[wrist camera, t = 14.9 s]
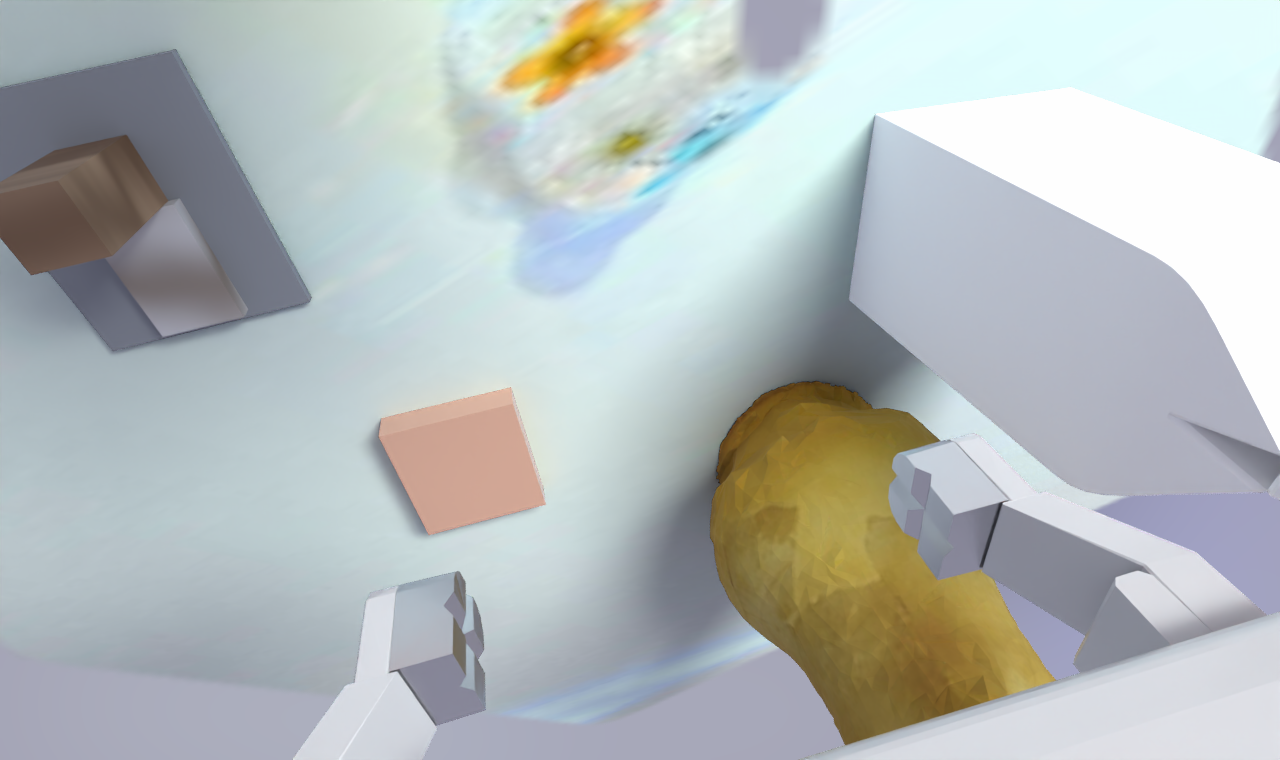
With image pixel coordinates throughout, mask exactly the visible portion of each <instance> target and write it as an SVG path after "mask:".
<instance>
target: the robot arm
mask: <svg viewBox="0 0 1280 760" xmlns="http://www.w3.org/2000/svg"><path fill="white" fill-rule="evenodd" d="M892 469H893V470H894V472H895V473H896V474H897V477H896V478H895V479H894V480H893V481H892V482H891V484H890V485H889V495H888V499H889V503H890V507H891V512H892V514H893V516H894V518H895V520H896V522H897V523H898V525H899V526H900V528H901V529H902V531H903V532H904V533H905V534H907V535H909V536H911V537H913V538H915V539H917V540H918V548H917V552H918V554H919V555H920V556H921V558H922V559H923V561H924V562H925V563H926V565H927V566H928V568H929V569H930V570H931V572H932V573H933V575H934V576H935V577H936V579H937V580H942V579H946V578H949V577H953V576H957V575H961V574H965V573H969V572H973V571H977V570H981V569H982V571H981V572H983V573H984V574H986V575H988V576H989V577H991V578H993V579H994V580H996V581H997V582H999V583H1001V584H1003V585H1004V586H1006V587H1007V588H1009V589H1010V590H1012V591H1014V592H1015V593H1017V594H1018V595H1020V596H1022V597H1023V598H1025V599H1027V600H1028V601H1030V602H1032V603H1033V604H1035V605H1036V606H1038V607H1040V608H1041V609H1043V610H1044V611H1046V612H1048V613H1049V614H1051V615H1053V616H1054V617H1056V618H1058V619H1059V620H1061V621H1062V622H1064V623H1066V624H1067V625H1069V626H1070V627H1072V628H1074V629H1075V630H1077V631H1079V632H1080V633H1082V634H1083V635H1085V638H1084V640H1083V642H1082V644H1081V645H1080V647H1079V649H1078V651H1077V653H1076V655H1075V659H1074V663H1073V664H1074V665H1075V667H1076V668H1077V669H1078V671H1079V672H1080V673H1079V674H1076V675H1073V676H1069V677H1066V678H1063V679H1059V680H1056V681H1053V682H1049V683H1046V684H1043V685H1040V686H1036V687H1033V688H1030V689H1027V690H1023V691H1020V692H1017V693H1014V694H1010V695H1007V696H1004V697H1001V698H997V699H994V700H991V701H988V702H984V703H981V704H978V705H975V706H971V707H968V708H965V709H962V710H958V711H955V712H952V713H949V714H945V715H942V716H939V717H936V718H932V719H929V720H926V721H922V722H919V723H916V724H913V725H909V726H906V727H903V728H900V729H896V730H893V731H890V732H887V733H883V734H880V735H877V736H874V737H870V738H867V739H864V740H861V741H857V742H854V743H851V744H848V745H844V746H841V747H838V748H835V749H831V750H828V751H825V752H822V753H818V754H815V755H812V756H809V757H805V758H802V759H799V760H1280V612H1277V613H1274V614H1271V615H1266V614H1265V613H1264V612H1263V611H1262V610H1261V609H1260V608H1258V607H1257V606H1256V605H1255V604H1254V603H1253V602H1252V601H1251V600H1249V599H1248V598H1247V597H1246V596H1245V595H1243V593H1241V592H1240V591H1239V590H1238V589H1237V588H1236V587H1234V586H1233V585H1232V584H1231V583H1230V582H1229V581H1228V580H1227V579H1226V578H1224V577H1223V576H1222V575H1221V574H1220V573H1219V572H1218V571H1216V570H1215V569H1214V568H1213V567H1212V566H1211V565H1210V564H1209V563H1207V562H1206V561H1205V560H1204V559H1203V558H1202V557H1201V556H1199V555H1198V554H1197V553H1196V552H1194V551H1192V550H1189V549H1187V548H1184V547H1182V546H1179V545H1177V544H1174V543H1172V542H1169V541H1167V540H1165V539H1162V538H1160V537H1157V536H1155V535H1152V534H1149V533H1147V532H1145V531H1142V530H1140V529H1137V528H1135V527H1132V526H1130V525H1127V524H1125V523H1122V522H1120V521H1117V520H1115V519H1112V518H1110V517H1108V516H1105V515H1103V514H1100V513H1098V512H1095V511H1093V510H1090V509H1088V508H1085V507H1083V506H1080V505H1078V504H1075V503H1073V502H1070V501H1068V500H1065V499H1063V498H1060V497H1058V496H1055V495H1053V494H1051V493H1048V492H1046V491H1044V492H1040V493H1037V492H1036V491H1035V490H1034V489H1033V488H1032V487H1031V486H1030V485H1029V484H1028V483H1027V482H1026V481H1025V480H1024V479H1023V478H1022V477H1021V476H1020V475H1019V474H1018V473H1017V472H1016V471H1015V470H1014V469H1013V468H1012V467H1011V466H1010V465H1009V464H1008V463H1007V462H1006V461H1005V460H1004V459H1003V458H1002V457H1001V456H1000V455H999V454H998V453H997V452H996V451H995V450H994V449H993V448H992V447H991V446H990V445H989V444H988V443H987V442H986V441H985V440H984V439H983V438H982V437H981V436H980V435H977V434H975V433H971V434H968V435H964V436H960V437H956V438H953V439H949V440H947V441H946V440H943V441H940V442H936V443H932V444H929V445H925V446H922V447H918V448H915V449H911V450H907V451H904V452H900V453H897V455H896V456H895V457H894V458H893V464H892ZM483 650H484V637H483V629H482V623H481V617H480V614H479V610H478V607H477V605H476V603H475V600H474V598H473V597H471V596H469V595H466V583H465V580H464V579H463V577H462V575H461V573H460V572H459V571H456V572H452V573H448V574H443V575H439V576H435V577H431V578H427V579H422V580H418V581H414V582H410V583H406V584H401V585H398V586H394V587H390V588H386V589H382V590H378V591H374V592H370V594H369V596H368V598H367V600H366V602H365V608H364V615H363V622H362V629H361V636H360V643H359V651H358V658H357V665H356V672H355V679H354V683H351V684H348V685H345V686H344V688H343V689H342V690H341V692H340V693H339V695H338V696H337V697H336V699H335V700H334V702H333V703H332V704H331V706H330V707H329V709H328V710H327V712H326V713H325V714H324V716H323V717H322V719H321V720H320V721H319V723H318V724H317V725H316V727H315V728H314V730H313V731H312V733H311V734H310V735H309V737H308V738H307V739H306V741H305V742H304V744H303V745H302V746H301V748H300V749H299V751H298V752H297V754H296V755H295V756H294V758H293V759H292V760H422V759H423V757H424V755H425V753H426V751H427V749H428V747H429V745H430V743H431V741H432V738H433V736H434V734H435V732H436V730H437V727H436V725H440V724H443V723H446V722H449V721H452V720H456V719H459V718H462V717H465V716H468V715H471V714H475V713H478V712H481V711H484V710H486V703H485V673H484V671H483V669H482V667H481V665H480V663H479V661H478V659H479V657H480V655H481V654H482V652H483Z"/></svg>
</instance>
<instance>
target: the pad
mask: <svg viewBox="0 0 1280 760" xmlns="http://www.w3.org/2000/svg"><path fill="white" fill-rule="evenodd" d="M122 135H127V136H128V138H129V139H130V141H131V142H132V144H133V146H134V147H135V149H136V150H137V152H138V154H139V155H140V157H141V158H142V160H143V161H144V163H145V165H146V166H147V168H148V169H149V171H150V173H151V174H152V176H153V177H154V179H155V180H156V182H157V184H158V185H159V187H160V188H161V190H162V192H163V193H164V195H165V196H166V198H167V199H168V201H170V200H174V199H178V198H180V200H181V201H182V203H183V205H184V206H185V208H186V209H187V211H188V213H189V214H190V216H191V218H192V219H193V221H194V222H195V224H196V226H197V227H198V229H199V230H200V232H201V234H202V235H203V237H204V239H205V240H206V242H207V243H208V245H209V247H210V248H211V250H212V251H213V253H214V255H215V256H216V258H217V260H218V261H219V263H220V264H221V266H222V268H223V269H224V271H225V272H226V274H227V276H228V277H229V279H230V281H231V282H232V284H233V285H234V287H235V289H236V290H237V292H238V293H239V295H240V297H241V298H242V300H243V302H244V303H245V305H246V306H247V308H248V311H247V313H246V315H245V316H244V317H242V318H238V319H234V320H230V321H226V322H222V323H218V324H214V325H210V326H206V327H202V328H198V329H194V330H190V331H185V332H181V333H177V334H173V335H169V336H165V337H163V336H162V335H161V334H160V332H159V331H158V330H157V328H156V327H155V326H154V324H153V323H152V321H151V320H150V319H149V317H148V316H147V315H146V313H145V312H144V311H143V309H142V308H141V307H140V305H139V304H138V302H137V301H136V300H135V298H134V297H133V296H132V294H131V293H130V292H129V290H128V289H127V287H126V286H125V285H124V283H123V282H122V281H121V279H120V278H119V277H118V275H117V274H116V273H115V271H114V270H113V268H112V267H111V266H110V264H109V263H108V262H107V260H106V259H105V258H102V259H98V260H94V261H90V262H85V263H81V264H77V265H73V266H68V267H64V268H60V269H56V270H51V271H48V272H49V273H50V275H51V276H52V277H53V278H54V280H55V281H56V282H57V283H58V284H59V286H60V287H61V288H62V289H63V291H64V292H65V293H66V294H67V296H68V297H69V298H70V299H71V300H72V302H73V303H74V304H75V305H76V307H77V308H78V309H79V310H80V312H81V313H82V314H83V315H84V316H85V318H86V319H87V320H88V321H89V323H90V324H91V325H92V326H93V328H94V329H95V330H96V331H97V332H98V334H99V335H100V336H101V337H102V339H103V340H104V341H105V342H106V344H107V345H108V346H109V347H110V348H111V350H112V351H116V350H120V349H124V348H128V347H132V346H136V345H140V344H144V343H148V342H152V341H156V340H160V339H164V338H168V337H172V336H176V335H180V334H184V333H188V332H192V331H196V330H200V329H204V328H208V327H212V326H216V325H220V324H224V323H228V322H232V321H236V320H240V319H244V318H248V317H252V316H256V315H260V314H264V313H268V312H272V311H276V310H280V309H284V308H288V307H292V306H296V305H300V304H304V303H308V302H310V300H311V298H312V297H311V295H310V294H309V292H308V290H307V288H306V286H305V285H304V283H303V281H302V279H301V277H300V275H299V274H298V272H297V270H296V268H295V266H294V264H293V263H292V261H291V259H290V257H289V255H288V254H287V252H286V250H285V248H284V246H283V244H282V243H281V241H280V239H279V237H278V235H277V233H276V232H275V230H274V228H273V226H272V224H271V223H270V221H269V219H268V217H267V215H266V213H265V212H264V210H263V208H262V206H261V204H260V202H259V201H258V199H257V197H256V195H255V193H254V191H253V190H252V188H251V186H250V184H249V182H248V181H247V179H246V177H245V175H244V173H243V171H242V170H241V168H240V166H239V164H238V162H237V160H236V159H235V157H234V155H233V153H232V151H231V150H230V148H229V146H228V144H227V142H226V140H225V139H224V137H223V135H222V133H221V131H220V129H219V128H218V126H217V124H216V122H215V120H214V119H213V117H212V115H211V113H210V111H209V109H208V108H207V106H206V104H205V102H204V100H203V98H202V97H201V95H200V93H199V91H198V89H197V87H196V86H195V84H194V82H193V80H192V78H191V77H190V75H189V73H188V71H187V69H186V67H185V66H184V64H183V62H182V60H181V58H180V56H179V55H178V53H177V51H176V50H172V51H167V52H162V53H158V54H153V55H149V56H144V57H139V58H135V59H130V60H126V61H121V62H116V63H112V64H107V65H103V66H98V67H94V68H89V69H84V70H80V71H75V72H71V73H66V74H61V75H57V76H52V77H48V78H43V79H39V80H34V81H29V82H25V83H20V84H16V85H11V86H6V87H2V88H0V182H1V181H3V180H5V179H6V178H8V177H10V176H12V175H13V174H15V173H17V172H18V171H20V170H22V169H23V168H25V167H27V166H29V165H30V164H32V163H34V162H35V161H37V160H39V159H40V158H42V157H44V156H46V155H47V154H49V153H51V152H52V151H54V150H59V149H63V148H68V147H72V146H77V145H81V144H86V143H90V142H95V141H99V140H104V139H108V138H113V137H117V136H122Z"/></svg>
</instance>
